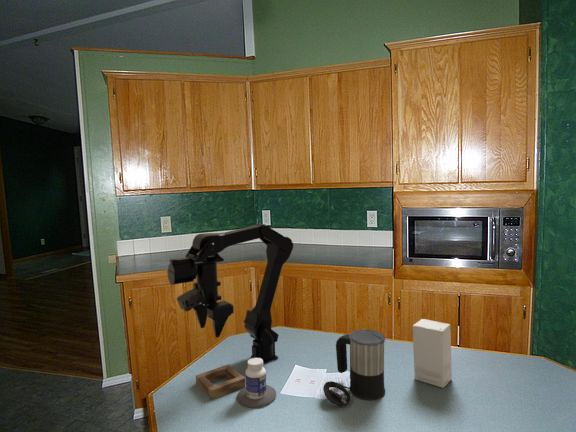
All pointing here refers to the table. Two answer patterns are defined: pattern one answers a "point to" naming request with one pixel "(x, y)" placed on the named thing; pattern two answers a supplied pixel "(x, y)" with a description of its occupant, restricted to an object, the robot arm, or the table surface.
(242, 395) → the mat
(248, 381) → the pill bottle
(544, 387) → the table surface
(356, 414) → the table surface
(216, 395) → the collar block
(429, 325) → the skincare box
